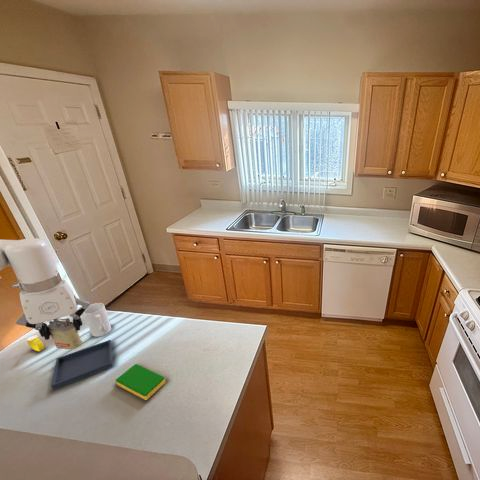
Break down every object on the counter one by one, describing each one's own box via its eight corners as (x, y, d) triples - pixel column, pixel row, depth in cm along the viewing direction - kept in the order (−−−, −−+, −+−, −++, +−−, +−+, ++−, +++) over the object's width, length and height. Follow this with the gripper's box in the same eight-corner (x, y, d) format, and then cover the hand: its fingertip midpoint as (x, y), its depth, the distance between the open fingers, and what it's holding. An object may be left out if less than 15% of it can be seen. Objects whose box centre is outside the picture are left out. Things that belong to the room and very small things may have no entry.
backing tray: (53, 390, 82) (51, 385, 81) (58, 362, 91) (56, 358, 90) (112, 366, 91) (111, 362, 90) (111, 343, 100) (110, 339, 99)
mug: (89, 331, 105) (79, 308, 100) (109, 323, 110) (101, 300, 105) (96, 344, 99) (86, 320, 94) (117, 334, 104) (109, 311, 99)
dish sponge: (146, 400, 80) (144, 395, 79) (116, 384, 85) (114, 379, 84) (166, 382, 86) (164, 377, 85) (137, 368, 91) (136, 363, 90)
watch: (48, 349, 96) (42, 337, 94) (39, 354, 94) (33, 342, 91) (37, 344, 98) (31, 333, 95) (28, 350, 95) (21, 338, 93)
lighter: (52, 348, 78) (40, 322, 74) (65, 338, 81) (53, 313, 77) (75, 350, 77) (64, 324, 73) (86, 340, 81) (76, 316, 77)
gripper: (-11, 299, 62) (19, 353, 70) (82, 279, 72) (100, 328, 79) (-2, 284, 68) (25, 336, 75) (84, 268, 78) (100, 315, 85)
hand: (63, 331), depth 77 cm, fingers closed on lighter, 6 cm apart
